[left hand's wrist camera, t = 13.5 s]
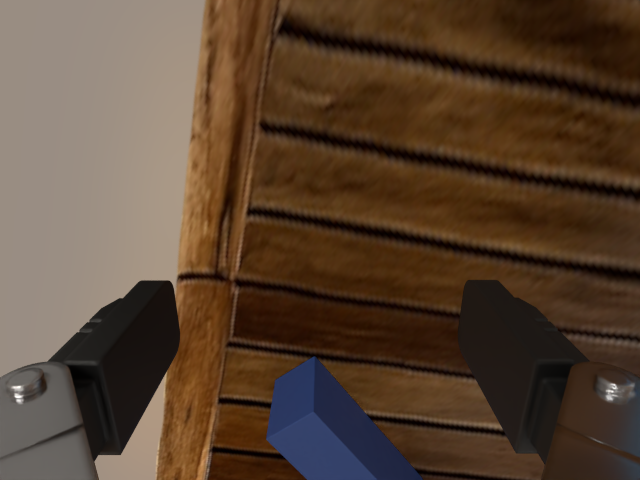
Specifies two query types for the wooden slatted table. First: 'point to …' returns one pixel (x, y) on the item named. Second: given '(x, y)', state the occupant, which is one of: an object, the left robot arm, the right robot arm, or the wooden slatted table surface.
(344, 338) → the wooden slatted table surface
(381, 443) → the box
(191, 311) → the wooden slatted table surface
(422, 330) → the wooden slatted table surface
